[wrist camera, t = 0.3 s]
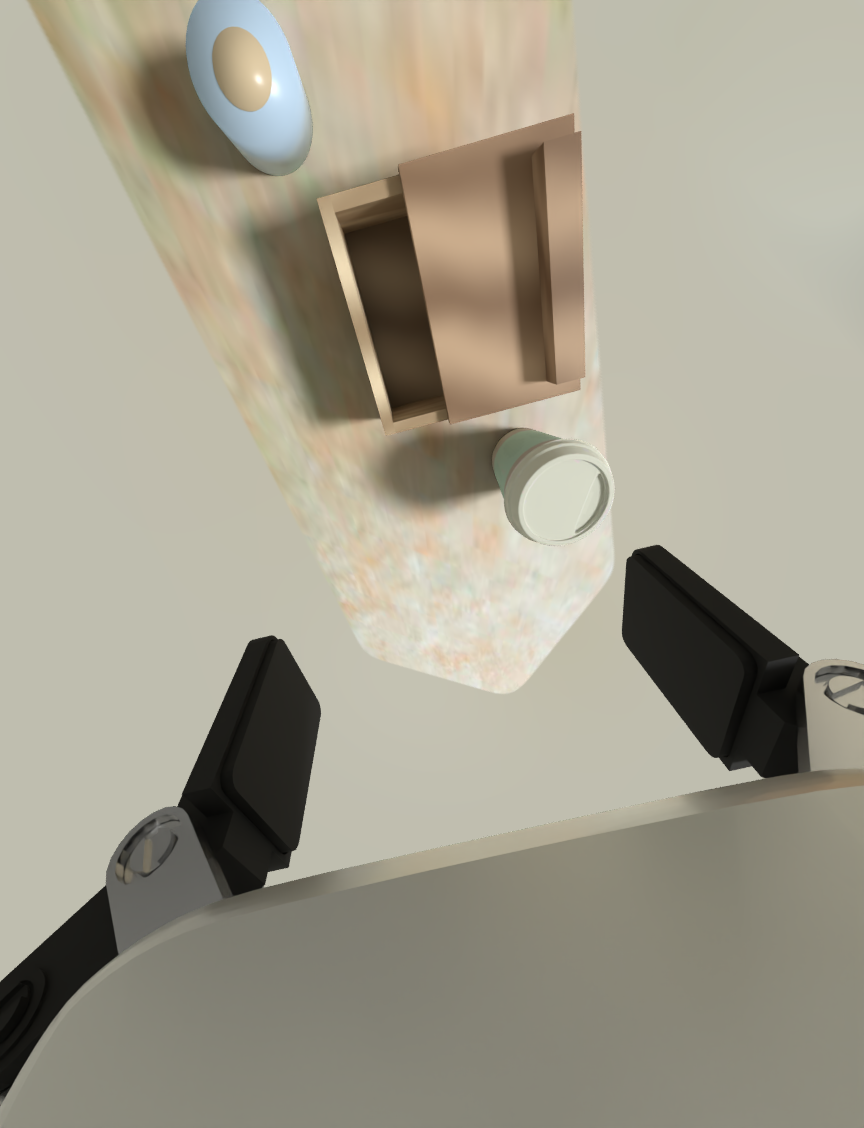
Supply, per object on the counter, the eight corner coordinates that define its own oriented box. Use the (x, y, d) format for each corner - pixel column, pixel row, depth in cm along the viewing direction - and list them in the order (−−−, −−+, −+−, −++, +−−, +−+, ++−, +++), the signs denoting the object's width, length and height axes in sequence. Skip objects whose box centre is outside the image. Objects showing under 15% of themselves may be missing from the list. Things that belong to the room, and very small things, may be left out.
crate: (330, 225, 29) (316, 198, 23) (462, 187, 28) (482, 150, 22) (385, 417, 36) (385, 436, 30) (490, 389, 36) (511, 402, 30)
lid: (398, 169, 22) (399, 150, 20) (568, 119, 22) (590, 94, 20) (448, 422, 30) (454, 430, 28) (575, 388, 30) (592, 393, 27)
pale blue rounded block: (206, 66, 24) (162, 3, 19) (291, 40, 24) (268, -30, 19) (248, 186, 27) (219, 156, 22) (325, 163, 27) (312, 128, 22)
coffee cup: (516, 512, 42) (557, 570, 32) (460, 462, 39) (487, 510, 29) (577, 452, 40) (643, 496, 30) (524, 393, 36) (578, 419, 26)
